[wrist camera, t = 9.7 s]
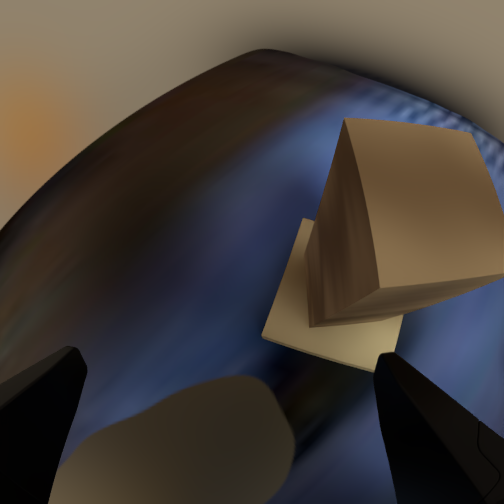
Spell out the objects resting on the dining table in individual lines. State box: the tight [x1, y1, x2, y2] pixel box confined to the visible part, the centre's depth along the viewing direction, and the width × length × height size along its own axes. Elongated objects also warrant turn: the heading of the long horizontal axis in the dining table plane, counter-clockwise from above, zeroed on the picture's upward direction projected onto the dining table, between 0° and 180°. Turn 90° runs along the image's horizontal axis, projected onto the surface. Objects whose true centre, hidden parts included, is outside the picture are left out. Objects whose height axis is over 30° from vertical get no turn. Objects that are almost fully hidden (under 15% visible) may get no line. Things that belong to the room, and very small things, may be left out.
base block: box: [261, 218, 403, 372], centre depth 20 cm, size 9×9×3 cm
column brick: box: [304, 118, 504, 328], centre depth 13 cm, size 5×5×13 cm
